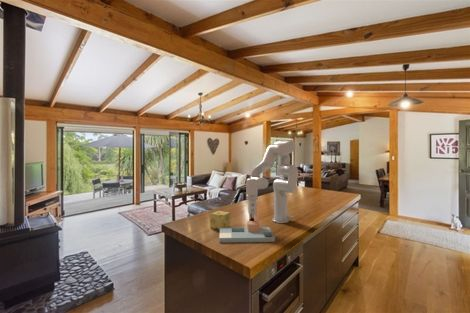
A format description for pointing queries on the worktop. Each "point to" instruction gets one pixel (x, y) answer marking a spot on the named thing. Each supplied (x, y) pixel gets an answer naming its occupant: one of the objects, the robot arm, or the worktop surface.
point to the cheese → (220, 220)
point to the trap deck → (245, 235)
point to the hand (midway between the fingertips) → (251, 224)
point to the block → (253, 226)
